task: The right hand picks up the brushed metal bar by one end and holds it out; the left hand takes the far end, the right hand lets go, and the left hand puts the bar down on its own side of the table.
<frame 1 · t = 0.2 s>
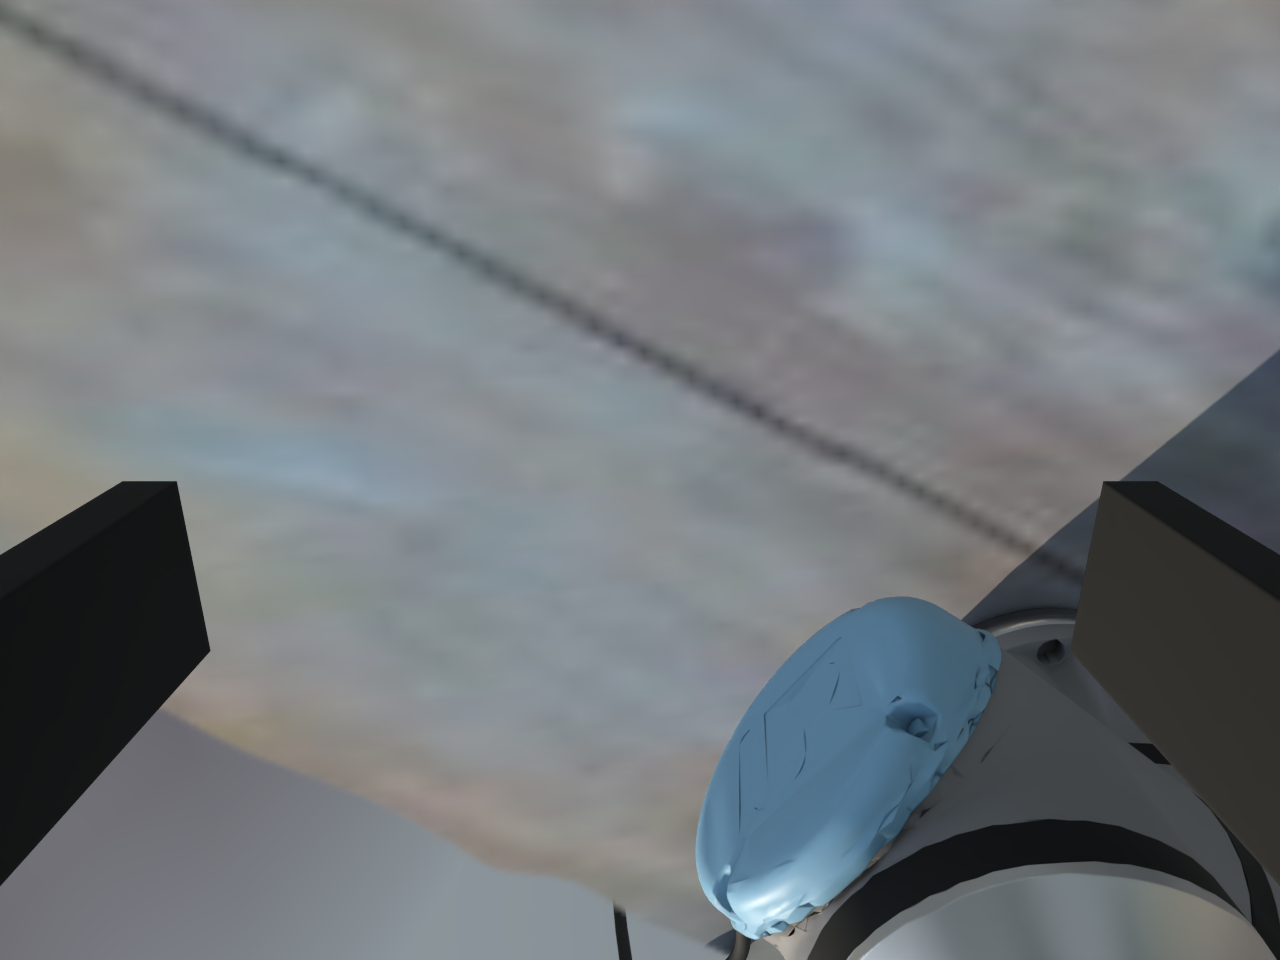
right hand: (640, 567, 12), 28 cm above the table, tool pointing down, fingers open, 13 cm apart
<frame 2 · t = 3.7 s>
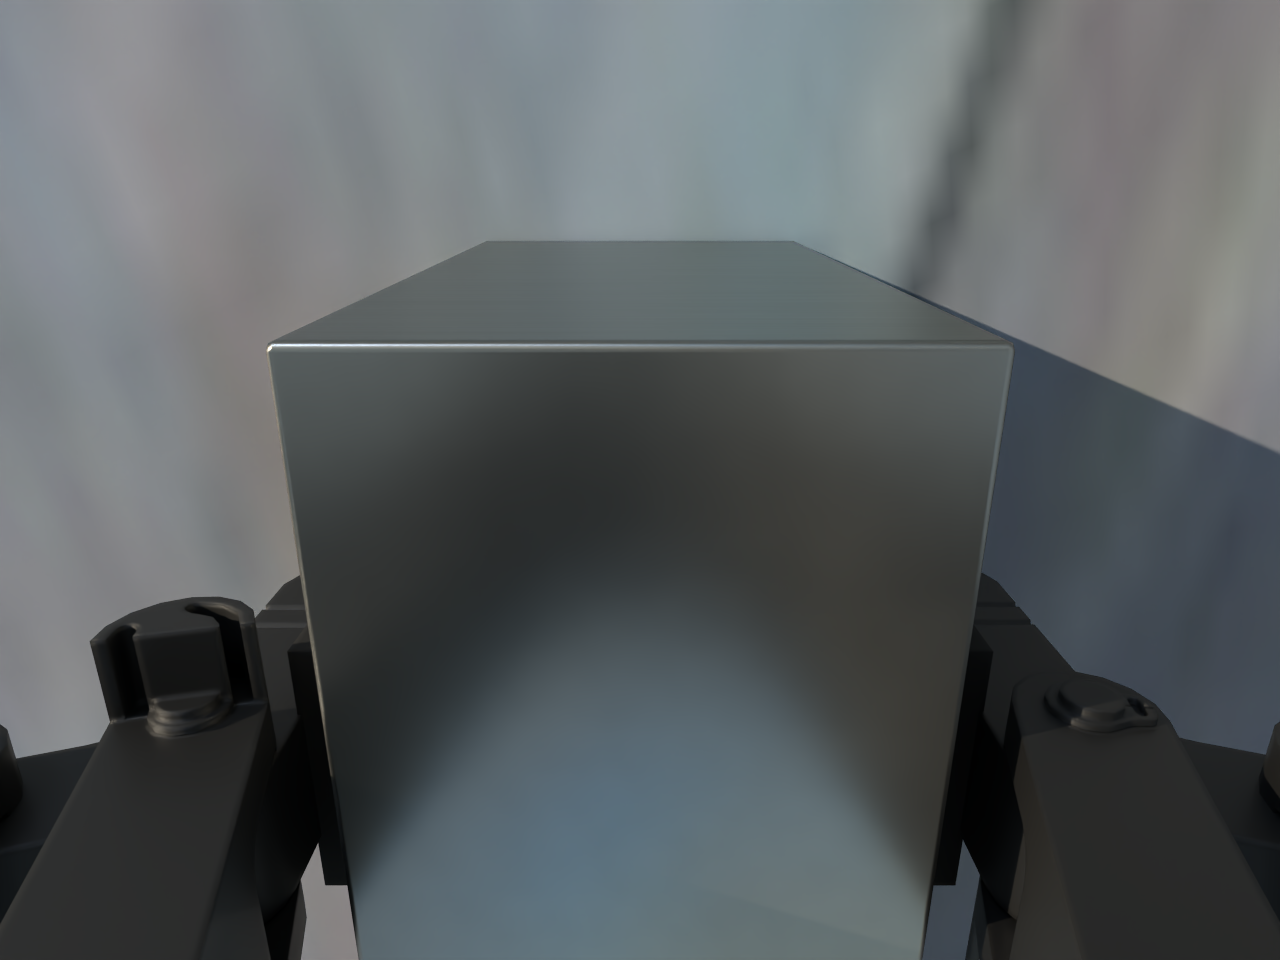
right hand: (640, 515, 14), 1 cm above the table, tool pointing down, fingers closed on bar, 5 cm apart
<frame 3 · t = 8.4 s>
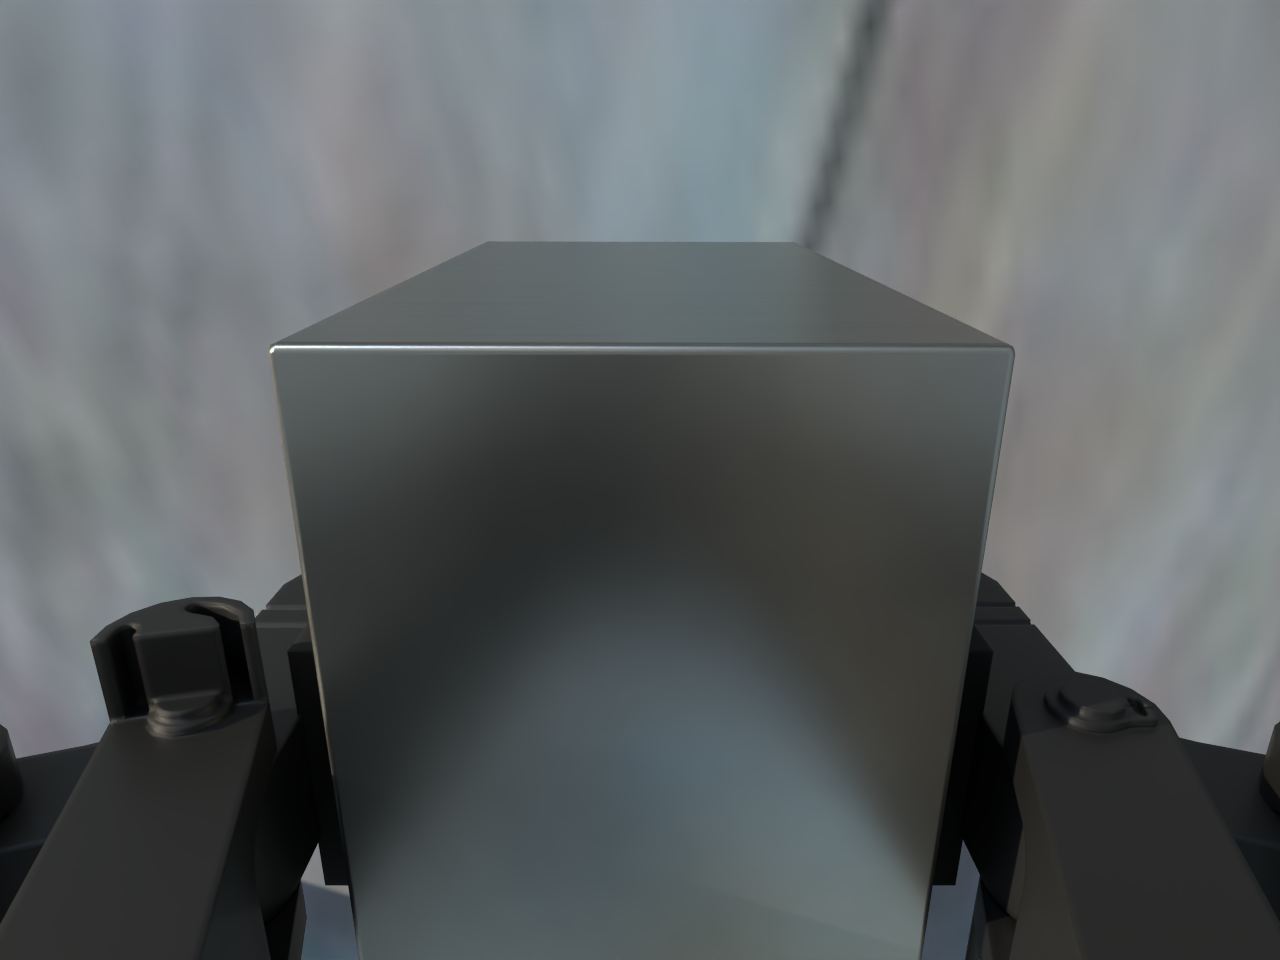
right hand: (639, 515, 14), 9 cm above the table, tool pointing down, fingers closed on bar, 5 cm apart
when the right hand's fingers open (9 cm above the table, at t = 8.9 s): bar stays where it is, held by the left hand.
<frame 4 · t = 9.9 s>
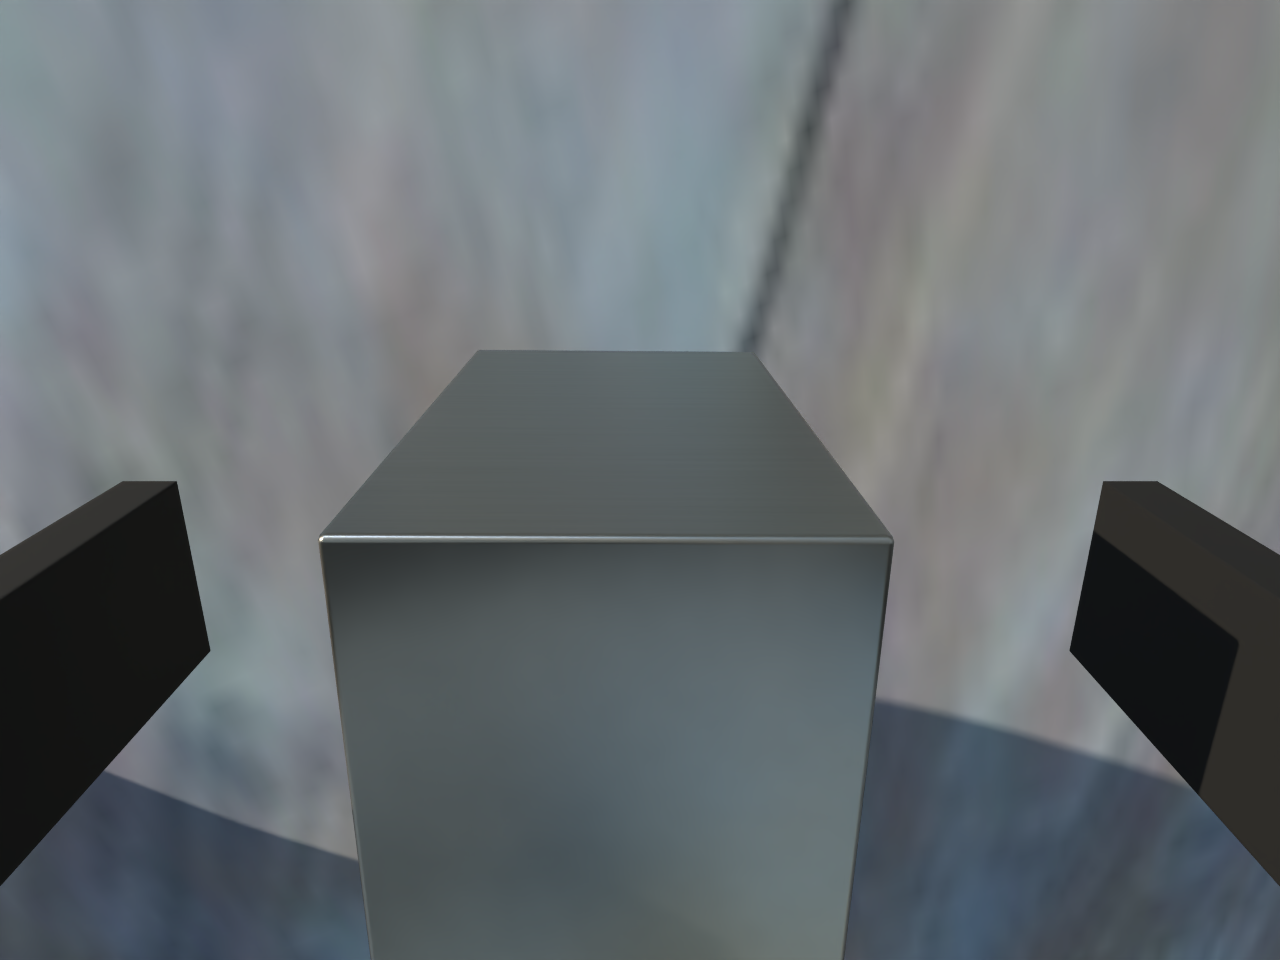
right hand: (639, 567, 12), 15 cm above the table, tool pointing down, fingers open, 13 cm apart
when the left hand's fingers open (2 cm above the table, at t = 12.6 s): bar drops 1 cm, on the table.
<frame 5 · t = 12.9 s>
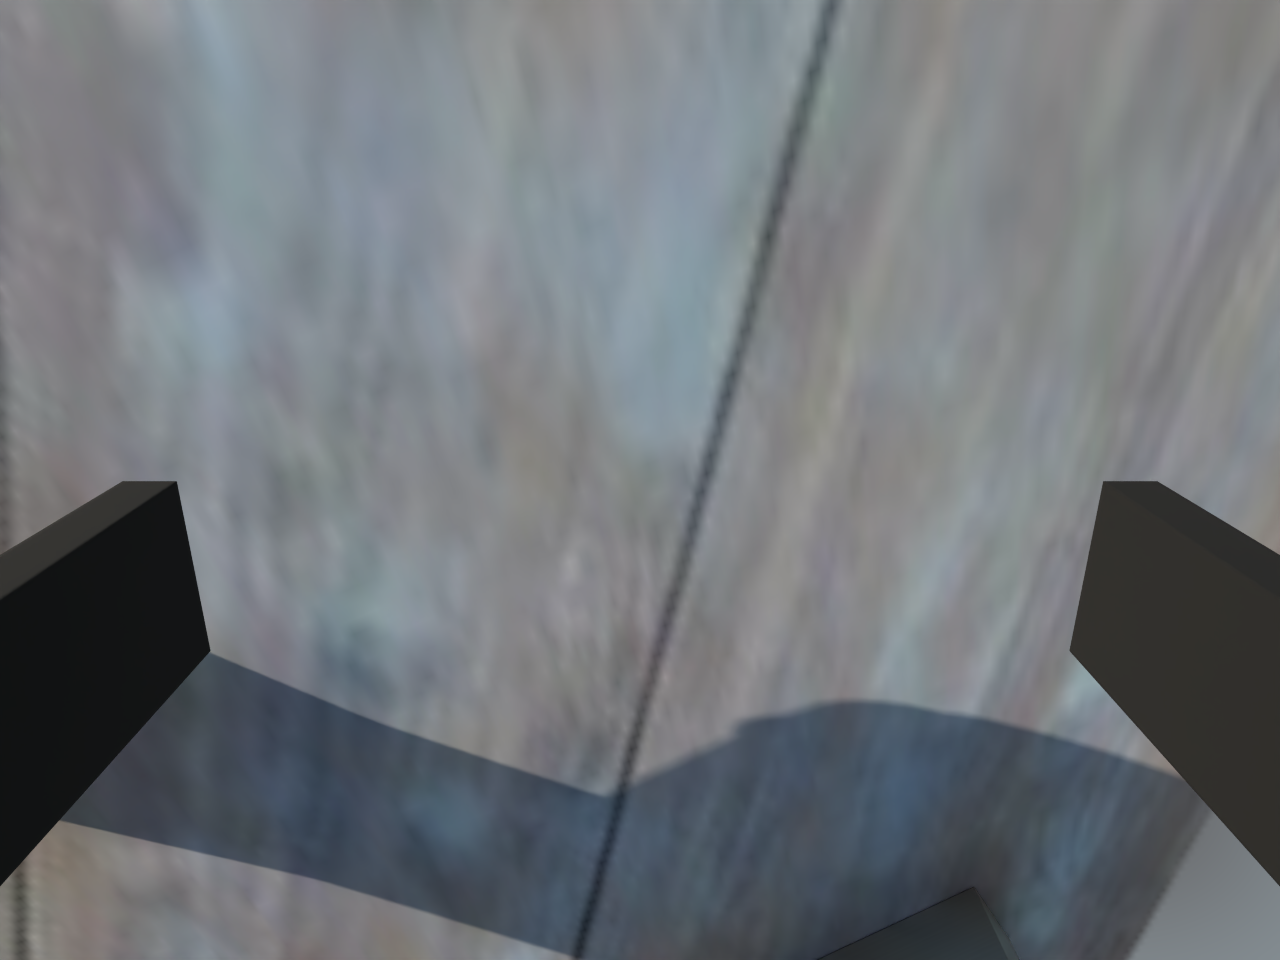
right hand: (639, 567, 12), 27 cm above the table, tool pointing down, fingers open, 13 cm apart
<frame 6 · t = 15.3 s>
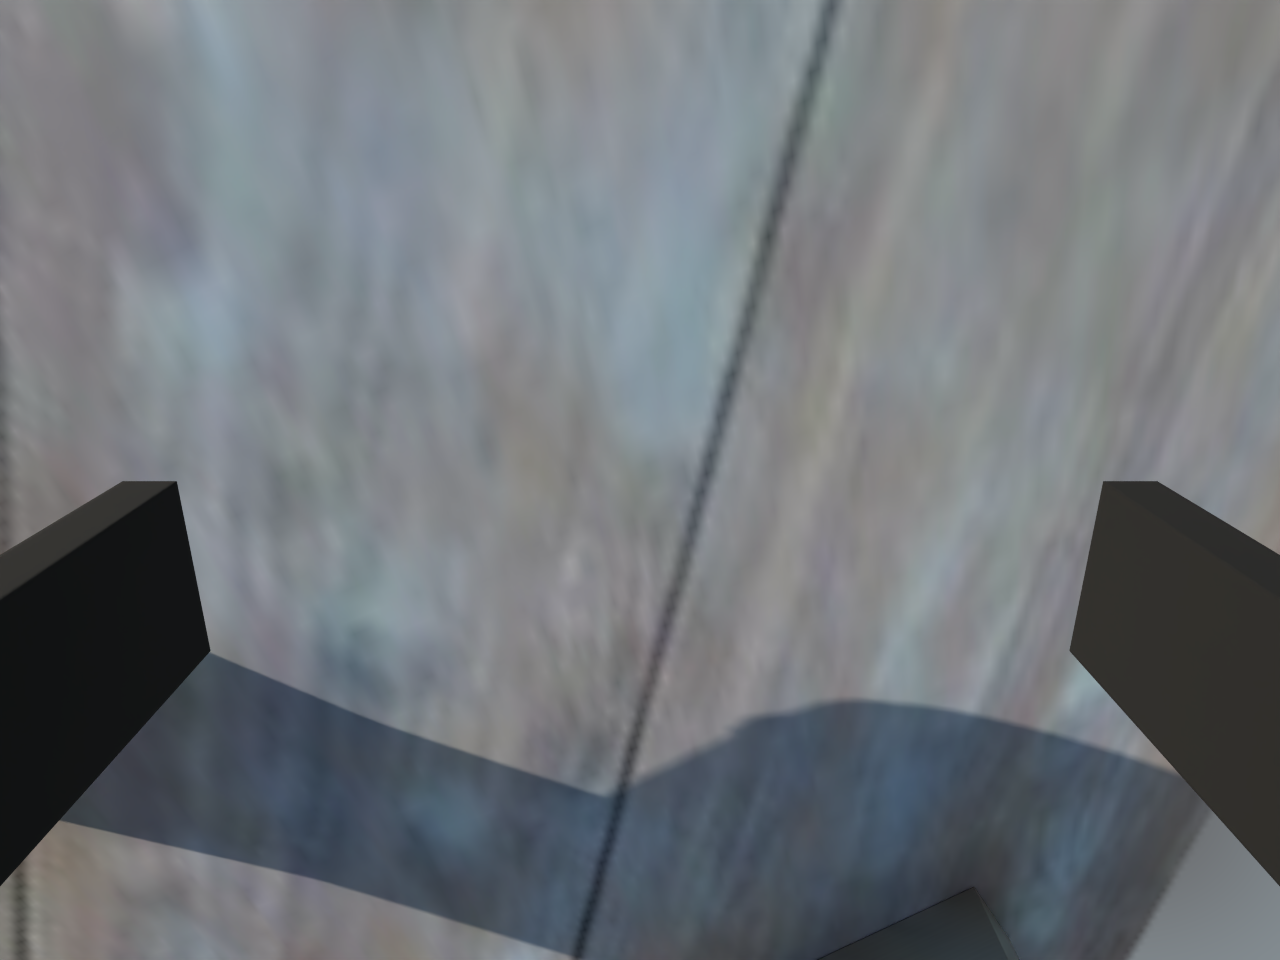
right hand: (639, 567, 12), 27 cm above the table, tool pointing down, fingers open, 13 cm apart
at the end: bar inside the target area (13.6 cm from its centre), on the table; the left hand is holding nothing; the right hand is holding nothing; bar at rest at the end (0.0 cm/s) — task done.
